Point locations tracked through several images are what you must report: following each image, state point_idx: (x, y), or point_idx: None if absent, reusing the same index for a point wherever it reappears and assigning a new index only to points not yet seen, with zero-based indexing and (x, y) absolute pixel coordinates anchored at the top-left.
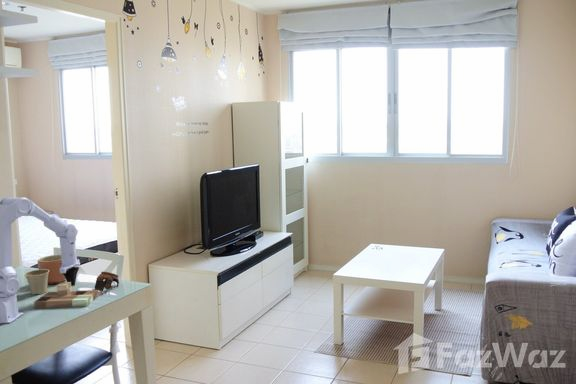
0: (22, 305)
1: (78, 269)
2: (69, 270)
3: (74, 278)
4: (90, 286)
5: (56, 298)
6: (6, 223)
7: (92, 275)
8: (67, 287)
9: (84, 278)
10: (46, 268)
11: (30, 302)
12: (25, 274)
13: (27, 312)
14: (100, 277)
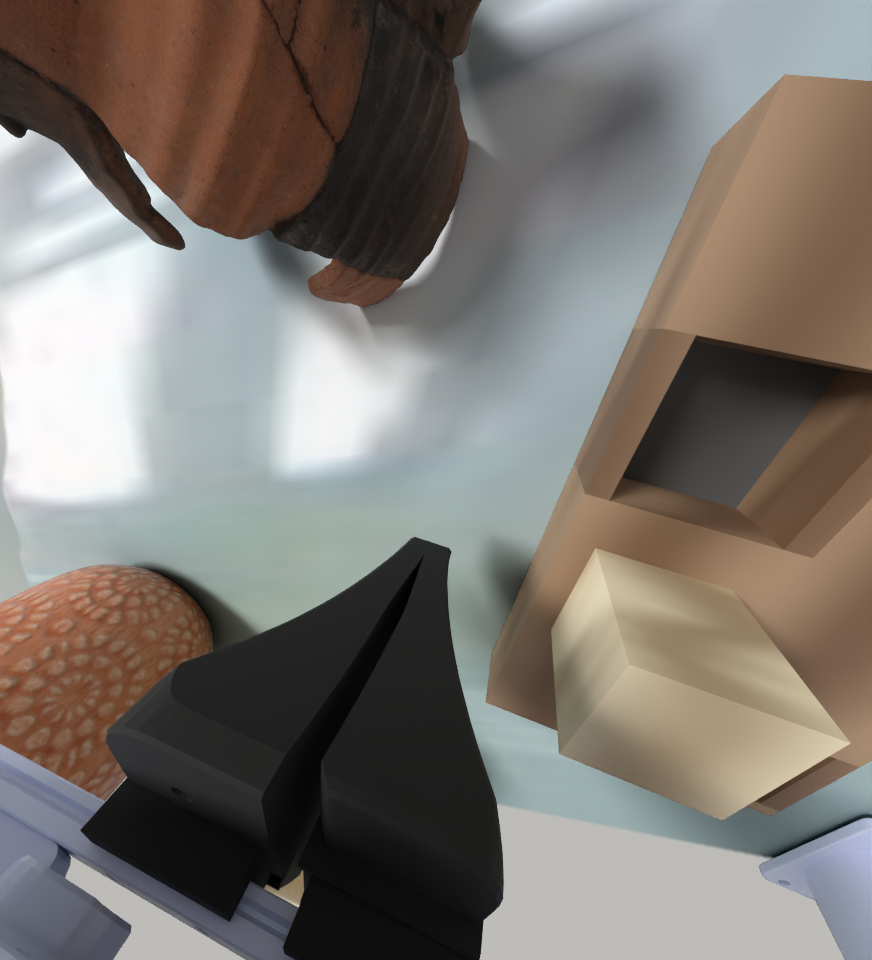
0: (594, 771)
1: (204, 666)
2: (473, 957)
3: (419, 608)
4: (249, 378)
5: (816, 689)
6: None
7: (9, 408)
8: (773, 672)
9: (79, 457)
10: (118, 766)
11: (546, 736)
12: (288, 893)
13: (833, 789)
14: (266, 59)
